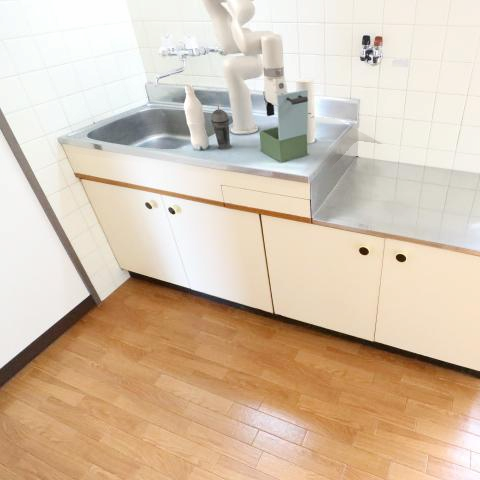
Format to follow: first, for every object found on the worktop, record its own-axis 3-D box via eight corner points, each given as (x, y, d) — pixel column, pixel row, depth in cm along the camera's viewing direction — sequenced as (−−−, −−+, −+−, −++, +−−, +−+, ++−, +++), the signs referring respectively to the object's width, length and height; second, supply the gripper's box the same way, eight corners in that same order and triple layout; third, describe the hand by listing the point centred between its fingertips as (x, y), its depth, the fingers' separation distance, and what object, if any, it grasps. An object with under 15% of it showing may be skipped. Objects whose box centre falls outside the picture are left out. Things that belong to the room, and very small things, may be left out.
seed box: (261, 150, 155) (259, 130, 150) (286, 143, 161) (285, 124, 156) (281, 162, 144) (279, 141, 140) (307, 154, 150) (306, 134, 146)
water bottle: (207, 150, 155) (195, 87, 141) (190, 151, 156) (176, 88, 141) (211, 144, 161) (200, 83, 147) (195, 144, 161) (182, 83, 147)
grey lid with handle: (276, 95, 129) (285, 99, 126) (306, 89, 135) (315, 93, 132) (278, 140, 140) (286, 145, 136) (306, 132, 146) (314, 137, 142)
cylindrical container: (296, 139, 165) (292, 79, 150) (310, 136, 167) (308, 77, 153) (303, 144, 160) (300, 82, 145) (317, 141, 162) (316, 80, 148)
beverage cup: (231, 143, 162) (224, 95, 151) (234, 148, 157) (227, 99, 145) (214, 145, 160) (206, 97, 149) (217, 151, 155) (208, 101, 143)
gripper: (295, 75, 134) (297, 122, 144) (270, 66, 145) (273, 111, 155) (277, 78, 130) (280, 126, 140) (253, 69, 141) (258, 114, 151)
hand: (277, 118), depth 148 cm, fingers open, 9 cm apart
